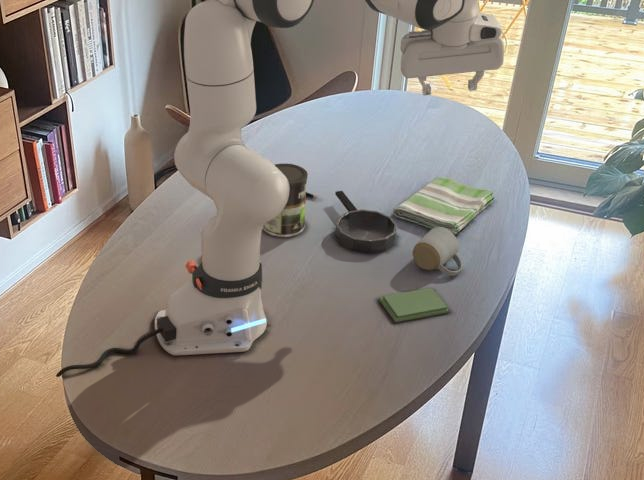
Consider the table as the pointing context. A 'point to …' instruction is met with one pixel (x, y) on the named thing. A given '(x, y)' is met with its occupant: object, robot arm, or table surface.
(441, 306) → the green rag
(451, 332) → the table surface
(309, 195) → the fountain pen
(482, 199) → the dish towel
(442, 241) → the ceramic mug
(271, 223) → the coffee can
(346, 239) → the steel pan
